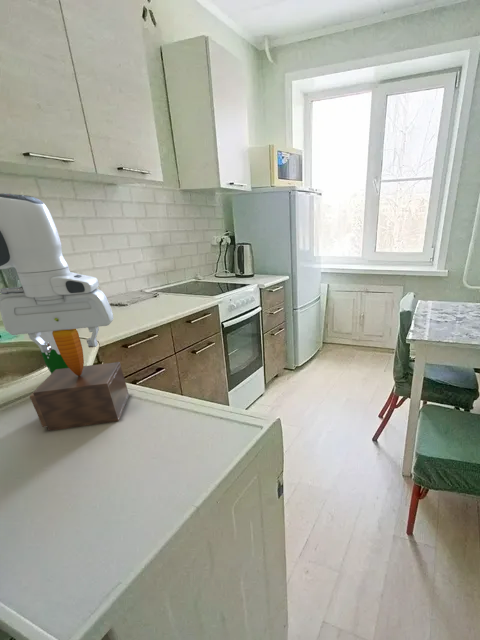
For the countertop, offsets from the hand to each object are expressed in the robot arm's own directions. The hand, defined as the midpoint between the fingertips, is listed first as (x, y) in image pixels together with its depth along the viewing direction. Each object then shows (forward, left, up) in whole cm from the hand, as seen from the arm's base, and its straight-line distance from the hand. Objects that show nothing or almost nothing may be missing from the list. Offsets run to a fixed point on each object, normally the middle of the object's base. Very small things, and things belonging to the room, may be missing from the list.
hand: (70, 348), depth 77 cm
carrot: (0, 0, -7) cm, 7 cm away
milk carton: (-13, +25, -16) cm, 33 cm away
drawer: (-2, 0, -15) cm, 15 cm away
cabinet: (0, 0, -16) cm, 16 cm away
